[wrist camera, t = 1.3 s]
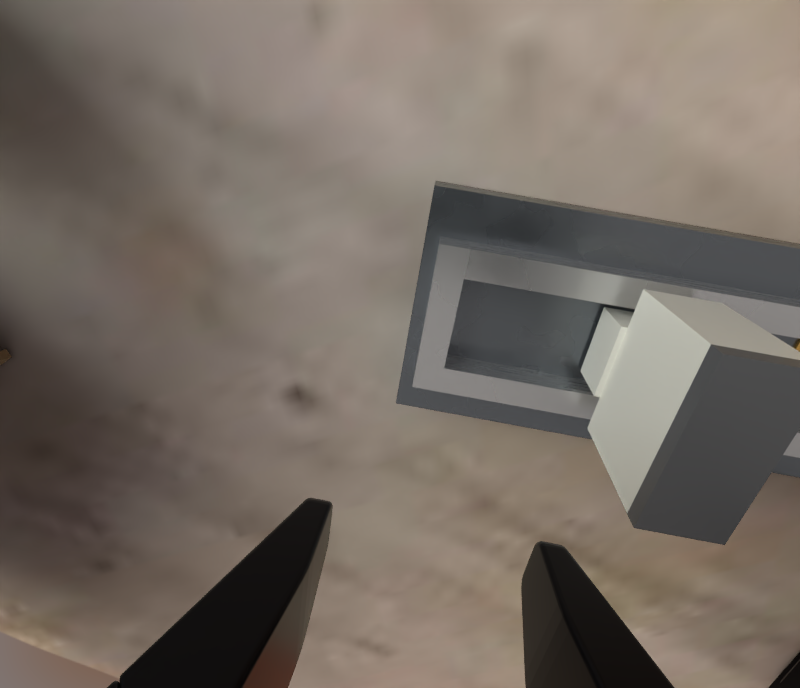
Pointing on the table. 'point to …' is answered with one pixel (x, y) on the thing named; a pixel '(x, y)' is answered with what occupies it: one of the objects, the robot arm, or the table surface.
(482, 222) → the console
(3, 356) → the photo frame
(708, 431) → the fader tab
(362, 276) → the table surface
